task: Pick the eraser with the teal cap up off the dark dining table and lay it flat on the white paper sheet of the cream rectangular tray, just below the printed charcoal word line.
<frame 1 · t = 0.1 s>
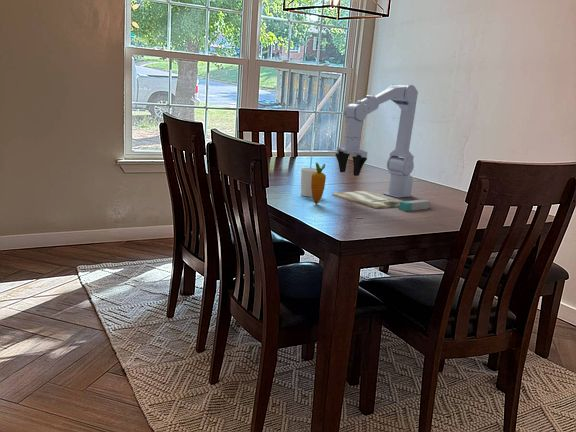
hand: (349, 173, 198), 10 cm above the table, fingers open, 7 cm apart
carrot: (316, 204, 189), on the table
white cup: (309, 195, 205), on the table
cream rectangular tray: (370, 200, 204), on the table
eraser: (416, 208, 195), on the table
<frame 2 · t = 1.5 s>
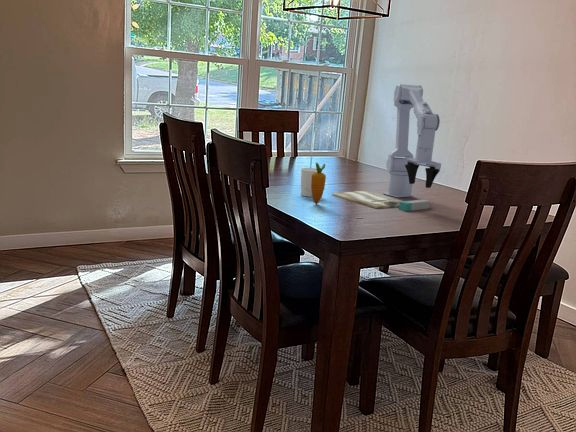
hand: (419, 185, 192), 9 cm above the table, fingers open, 7 cm apart
nothing on the table moved.
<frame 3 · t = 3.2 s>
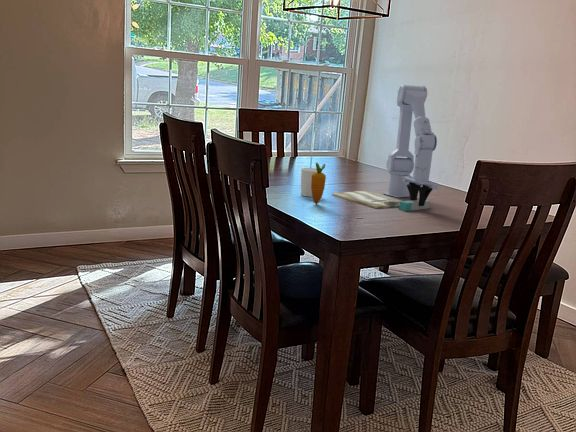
hand: (417, 204, 194), 1 cm above the table, fingers closed on eraser, 3 cm apart
eraser: (416, 208, 195), on the table, touching gripper
everything else where it was.
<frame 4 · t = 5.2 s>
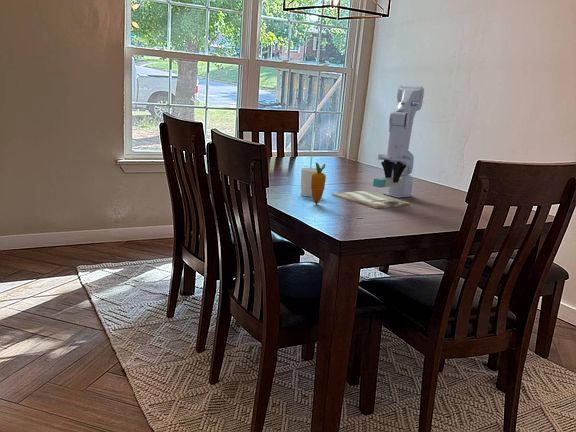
hand: (391, 181, 198), 8 cm above the table, fingers closed on eraser, 3 cm apart
eraser: (391, 185, 198), point 7 cm above the table, touching gripper
everything else where it was.
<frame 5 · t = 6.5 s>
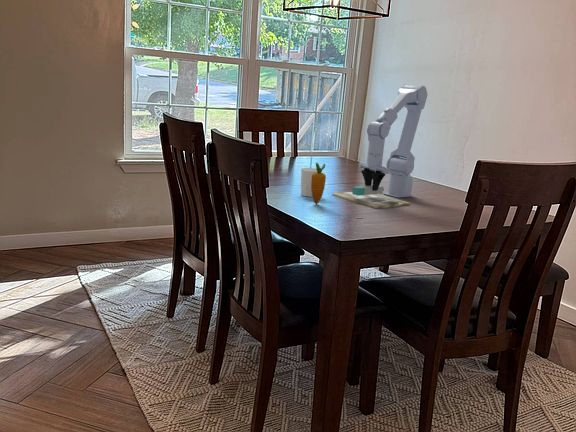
hand: (371, 189, 203), 4 cm above the table, fingers closed on eraser, 3 cm apart
eraser: (370, 193, 203), point 3 cm above the table, touching gripper
everything else where it was.
when the fingers open (3 cm above the table, at t = 7.4 s): eraser stays where it is, resting on cream rectangular tray.
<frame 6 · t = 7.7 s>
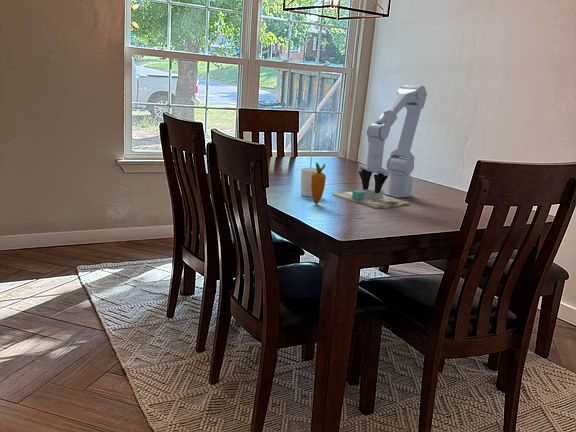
hand: (371, 191, 203), 3 cm above the table, fingers open, 6 cm apart
eraser: (370, 197, 203), point 1 cm above the table, touching cream rectangular tray
everything else where it was.
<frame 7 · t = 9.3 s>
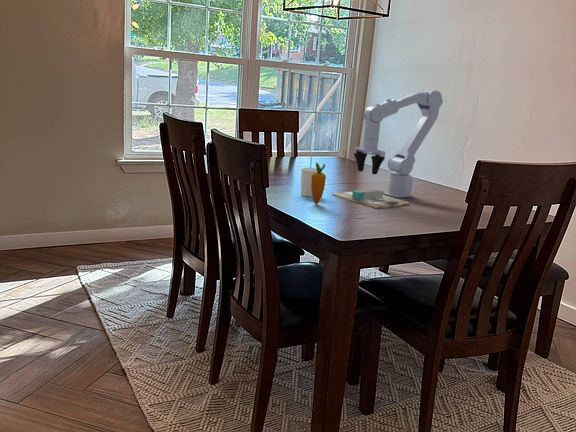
hand: (367, 172, 209), 9 cm above the table, fingers open, 7 cm apart
nothing on the table moved.
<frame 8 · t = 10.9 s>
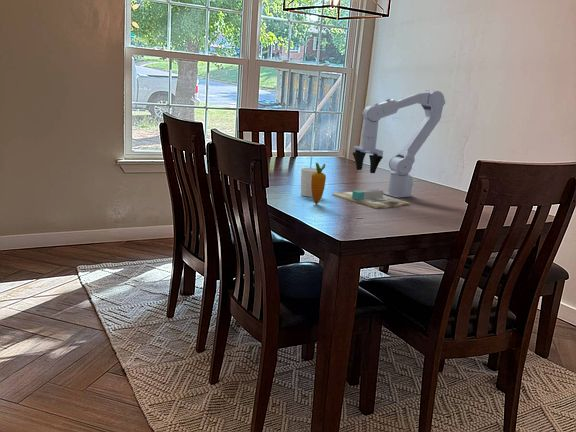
hand: (365, 171, 211), 9 cm above the table, fingers open, 7 cm apart
nothing on the table moved.
at the end: eraser inside the target area on the cream rectangular tray (0.6 cm from its centre), point 0.9 cm above the cream rectangular tray's base; eraser touching cream rectangular tray; the gripper is holding nothing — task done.
